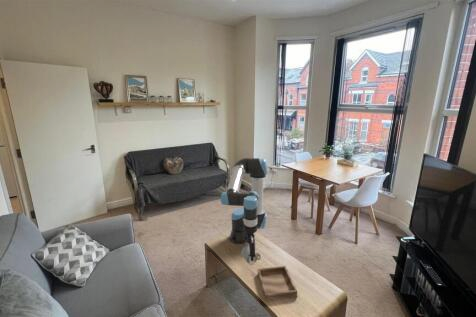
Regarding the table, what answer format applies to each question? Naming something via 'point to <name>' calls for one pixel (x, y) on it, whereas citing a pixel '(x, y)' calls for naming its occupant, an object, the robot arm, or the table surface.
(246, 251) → the ceramic mug
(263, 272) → the crate
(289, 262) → the table surface
